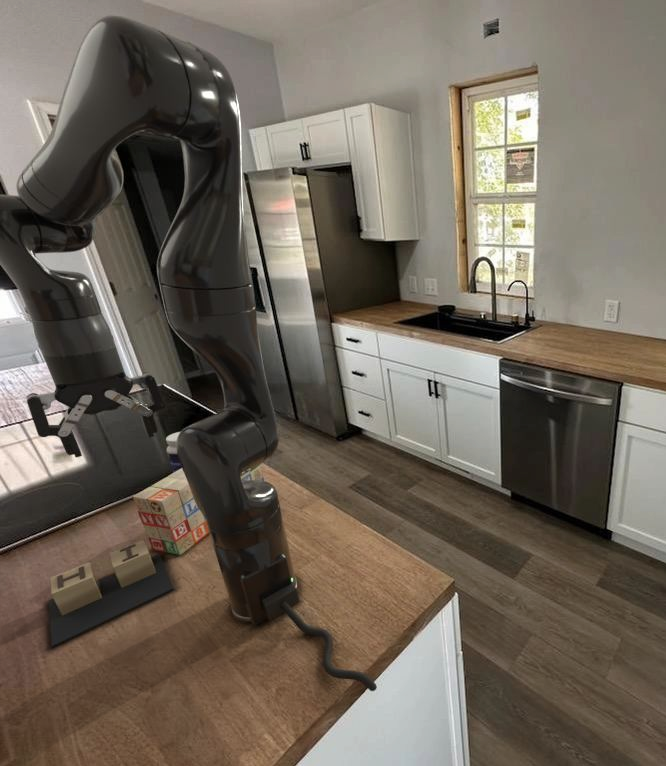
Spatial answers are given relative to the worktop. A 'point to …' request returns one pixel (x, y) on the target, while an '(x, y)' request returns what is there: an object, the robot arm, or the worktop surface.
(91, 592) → the tile
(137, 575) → the tile
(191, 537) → the stack of blocks
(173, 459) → the pill bottle
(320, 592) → the worktop surface
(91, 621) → the word mat
